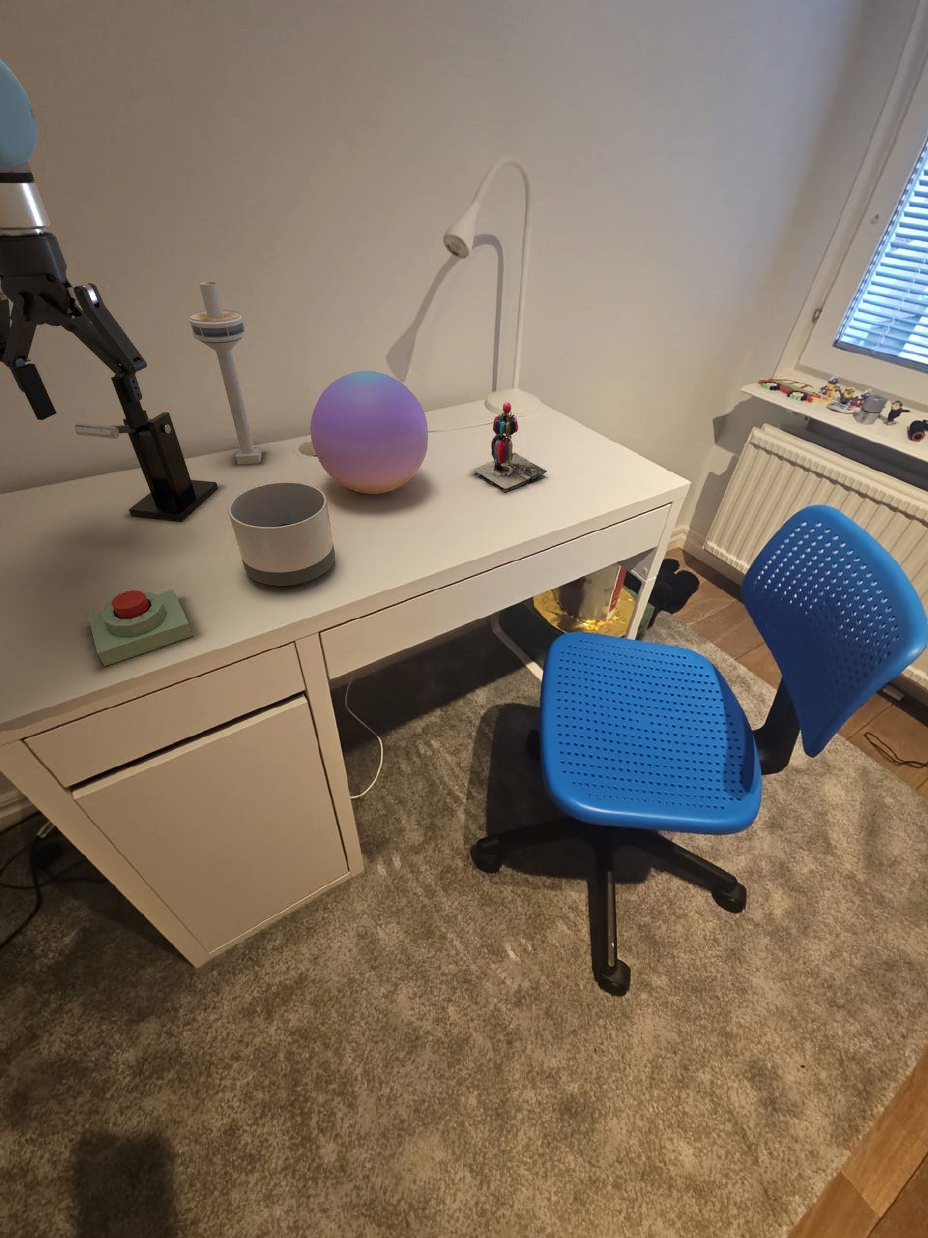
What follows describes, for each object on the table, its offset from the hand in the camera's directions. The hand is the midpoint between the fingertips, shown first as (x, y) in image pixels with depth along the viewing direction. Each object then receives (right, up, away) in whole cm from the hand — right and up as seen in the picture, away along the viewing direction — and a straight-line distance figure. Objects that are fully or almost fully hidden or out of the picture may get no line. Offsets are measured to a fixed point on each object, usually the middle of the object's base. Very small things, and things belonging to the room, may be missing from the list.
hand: (92, 421), depth 74 cm
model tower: (+9, +4, +33) cm, 34 cm away
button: (+11, -26, -8) cm, 29 cm away
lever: (+1, 0, +7) cm, 7 cm away
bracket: (+1, -7, +19) cm, 21 cm away
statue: (+60, +1, +31) cm, 68 cm away
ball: (+35, -3, +26) cm, 43 cm away
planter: (+26, -20, +6) cm, 33 cm away
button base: (+10, -29, -6) cm, 31 cm away
